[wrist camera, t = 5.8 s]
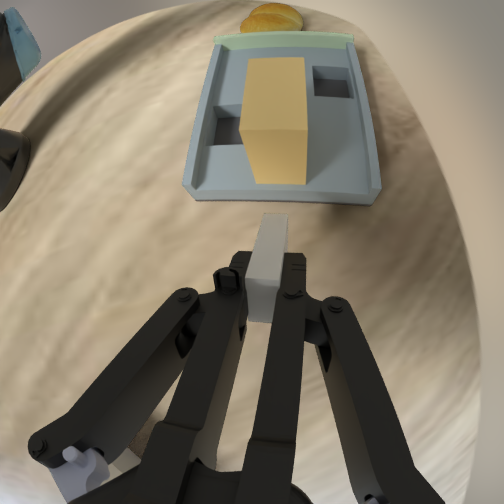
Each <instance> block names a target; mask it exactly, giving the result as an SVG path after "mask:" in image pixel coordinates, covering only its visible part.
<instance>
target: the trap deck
mask: <svg viewBox="0 0 504 504" xmlns="http://www.w3.org/2000/svg"><path fill="white" fill-rule="evenodd" d="M213 41H214V43H215V46H214V50H213V53H212V56H211V60H210V63H209V67H208V71H207V74H206V78H205V82H204V85H203V89H202V93H201V97H200V101H199V105H198V109H197V114H196V118H195V122H194V127H193V131H192V136H191V140H190V145H189V150H188V155H187V160H186V165H185V170H184V176H183V181H182V186H183V187H184V188H185V189H186V190H187V191H188V192H189V194H190V195H191V196H192V197H193V198H194V199H195V200H196V201H265V202H302V203H326V204H345V205H362V206H371V205H372V204H373V202H374V201H375V199H376V197H377V196H378V194H379V193H380V191H381V189H382V187H381V177H380V169H379V161H378V154H377V147H376V140H375V134H374V128H373V123H372V117H371V112H370V107H369V102H368V98H367V93H366V89H365V84H364V80H363V76H362V72H361V68H360V65H359V61H358V57H357V54H356V50H355V47H354V43H353V41H354V37H353V34H344V33H333V32H315V31H270V32H252V33H240V34H231V35H222V36H215V37H214V39H213ZM275 57H304V63H305V79H306V98H307V124H308V137H307V166H306V185H295V184H256V181H255V178H254V175H253V172H252V169H251V166H250V162H249V159H248V156H247V153H246V150H245V147H244V144H243V141H242V138H241V135H240V132H239V125H240V118H241V110H242V102H243V95H244V88H245V80H246V73H247V66H248V59H253V58H275Z"/></svg>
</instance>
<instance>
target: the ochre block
mask: <svg viewBox="0 0 504 504" xmlns="http://www.w3.org/2000/svg"><path fill="white" fill-rule="evenodd" d="M239 132H240V135H241V138H242V141H243V144H244V147H245V150H246V153H247V156H248V159H249V162H250V166H251V169H252V172H253V175H254V178H255V181H256V184H295V185H306V166H307V137H308V124H307V98H306V79H305V63H304V57H275V58H253V59H248V66H247V73H246V80H245V88H244V95H243V102H242V110H241V118H240V125H239Z"/></svg>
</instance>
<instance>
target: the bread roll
mask: <svg viewBox="0 0 504 504" xmlns="http://www.w3.org/2000/svg"><path fill="white" fill-rule="evenodd" d="M302 27H303V20H302V17H301V15H300V14H299V13H298V12H297V11H296V10H295V9H293V8H292V7H290V6H288V5H284V4H280V3H269V4H264V5H261V6H259V7H258V8H256V9H254V10H253V11H252V12H251V14H250V16H249V17H248V18H247V19H245V20H244V21H243V22H242V24H241V26H240V30H241V33H252V32H270V31H301V28H302Z"/></svg>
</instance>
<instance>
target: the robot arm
mask: <svg viewBox="0 0 504 504" xmlns="http://www.w3.org/2000/svg"><path fill="white" fill-rule="evenodd" d="M40 59H41V51H40V48H39V46H38V44H37V42H36V40H35V38H34V37H33V35H32V33H31V31H30V30H29V28H28V26H27V25H26V23H25V21H24V20H23V18H22V17H21V15H20V14H19V12H18V11H17V10H16V9H15V8H14V7H10V8H9V9H7V10H6V11H4V13H3V14H1V13H0V106H1V105H2V104H3V103H4V101H5V100H6V99H7V98H8V97H9V96H10V94H11V93H12V92H13V91H14V90H15V89H16V88H17V87H18V86H19V84H20V83H21V82H22V81H23V82H24V81H25V79H26V77H27V76H28V75H29V73H30V72H31V71H32V70H33V69H34V68H35V67H36V66H37V65H38V63H39V62H40ZM29 154H30V141H29V139H28V138H27V137H25V136H24V135H23V134H21V133H19V132H16V131H11V130H6V129H2V128H0V211H2V210H3V209H4V207H5V206H6V205H7V204H8V202H9V201H10V199H11V198H12V196H13V194H14V193H15V191H16V189H17V187H18V185H19V183H20V181H21V179H22V176H23V174H24V171H25V169H26V166H27V162H28V159H29ZM287 252H288V214H273V213H264V215H263V219H262V222H261V225H260V229H259V232H258V235H257V239H256V242H255V245H254V249H253V252H251V251H238V252H237V253H236V254H235V255H234V256H233V257H232V260H231V263H230V265H229V267H224V268H221V269H218V270H217V271H215V273H214V274H213V278H214V284H215V291H213V292H211V293H206V294H199V295H198V292H197V291H196V290H195V289H193V288H188V287H186V288H181V289H178V290H176V291H175V292H174V293H173V294H172V295H171V296H170V297H169V298H168V299H167V300H166V301H165V302H164V303H163V304H162V306H161V307H160V308H159V309H158V310H157V311H156V312H155V313H154V314H153V315H152V316H151V318H150V319H149V320H148V321H147V322H146V323H145V324H144V325H143V326H142V328H141V329H140V330H139V331H138V332H137V333H136V334H135V335H134V336H133V338H132V339H131V340H130V341H129V342H128V343H127V344H126V345H125V347H124V348H123V349H122V350H121V351H120V352H119V353H118V354H117V356H116V357H115V358H114V359H113V360H112V361H111V362H110V364H109V365H108V366H107V367H106V368H105V369H104V370H103V372H102V373H101V374H100V375H99V376H98V377H97V378H96V380H95V381H94V382H93V383H92V384H91V385H90V387H89V388H88V389H87V390H86V391H85V392H84V394H83V395H82V396H81V397H80V398H79V400H78V401H77V402H76V403H75V404H74V406H73V407H72V408H71V409H70V410H69V411H68V413H66V414H65V415H63V416H62V417H60V418H58V419H57V420H55V421H53V422H52V423H50V424H48V425H47V426H45V427H43V428H42V429H40V430H39V431H37V432H35V433H34V434H33V435H32V436H31V437H30V439H29V441H28V451H29V454H30V455H31V457H32V458H33V459H35V460H36V461H38V462H39V463H41V464H43V465H44V466H46V467H47V468H48V469H49V470H50V472H51V474H52V476H53V478H54V480H55V482H56V484H57V486H58V488H59V490H60V492H61V493H62V495H63V497H64V499H65V500H66V502H67V504H313V503H312V502H311V500H310V499H309V498H308V496H307V495H306V494H305V493H304V492H303V491H302V490H301V489H300V488H298V487H297V486H296V485H294V484H292V483H291V481H292V473H293V466H294V458H295V449H296V433H297V424H298V414H299V403H300V392H301V380H302V366H303V351H304V341H306V342H309V343H312V344H315V348H316V352H317V355H318V359H319V362H320V366H321V370H322V373H323V377H324V380H325V384H326V388H327V391H328V395H329V399H330V403H331V406H332V410H333V414H334V418H335V422H336V426H337V430H338V433H339V437H340V441H341V445H342V450H343V454H344V458H345V462H346V466H347V470H348V475H349V479H350V483H351V486H352V490H353V493H354V495H355V497H356V499H357V502H358V504H445V502H444V501H443V499H442V498H441V497H440V496H439V495H438V493H437V492H436V491H435V490H434V489H433V488H432V486H431V485H430V484H429V483H428V482H427V481H426V479H425V478H424V477H423V476H422V475H421V473H420V472H419V471H418V470H417V469H416V467H415V466H414V463H413V460H412V457H411V454H410V451H409V448H408V445H407V442H406V439H405V436H404V433H403V430H402V428H401V425H400V422H399V419H398V417H397V414H396V411H395V409H394V406H393V403H392V401H391V398H390V396H389V393H388V391H387V388H386V386H385V383H384V381H383V378H382V376H381V373H380V371H379V369H378V366H377V364H376V361H375V359H374V357H373V354H372V352H371V350H370V347H369V345H368V343H367V341H366V338H365V336H364V334H363V332H362V329H361V327H360V325H359V323H358V321H357V318H356V316H355V314H354V312H353V310H352V308H351V305H350V304H349V303H348V301H347V300H345V299H343V298H341V297H334V296H332V297H328V298H326V299H324V300H323V301H319V300H316V299H314V298H312V297H310V296H309V295H308V293H307V292H306V258H305V256H304V255H303V253H287ZM247 317H248V321H252V322H264V323H272V326H271V332H270V338H269V344H268V350H267V355H266V361H265V367H264V372H263V378H262V384H261V389H260V394H259V400H258V405H257V410H256V416H255V421H254V426H253V431H252V435H251V438H250V439H249V442H248V445H247V449H246V454H245V459H244V463H243V468H242V471H234V472H217V471H215V467H216V461H217V448H218V444H219V440H220V436H221V432H222V428H223V424H224V420H225V416H226V412H227V408H228V404H229V400H230V396H231V392H232V388H233V384H234V380H235V376H236V372H237V367H238V363H239V359H240V355H241V351H242V347H243V343H244V339H245V334H246V330H247V325H246V321H247ZM182 370H183V372H182ZM181 372H182V374H181V377H180V380H179V382H178V385H177V388H176V390H175V393H174V396H173V398H172V401H171V404H170V406H169V409H168V412H167V414H166V417H165V418H164V420H162V421H159V422H157V424H156V425H155V426H154V428H153V430H152V433H151V436H150V438H149V441H148V444H147V446H146V449H145V452H144V454H143V457H142V460H141V462H140V464H138V465H136V466H135V467H133V468H131V469H130V470H128V471H126V472H124V473H123V474H121V475H119V476H117V477H116V478H114V479H112V480H110V481H108V482H107V483H105V484H103V485H101V483H102V482H103V481H104V480H107V479H109V477H110V472H109V468H108V465H110V464H111V463H112V462H114V461H115V460H116V459H117V458H118V457H119V456H120V455H121V454H122V453H123V451H124V450H125V449H126V448H127V447H128V445H129V444H130V442H131V441H132V440H133V438H134V437H135V436H136V434H137V433H138V431H139V430H140V429H141V427H142V426H143V425H144V423H145V422H146V420H147V419H148V418H149V416H150V415H151V414H152V412H153V411H154V409H155V408H156V407H157V405H158V404H159V402H160V401H161V400H162V398H163V397H164V395H165V394H166V393H167V391H168V390H169V388H170V387H171V386H172V384H173V383H174V381H175V380H176V379H177V377H178V376H179V374H180V373H181ZM100 485H101V486H100Z"/></svg>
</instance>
